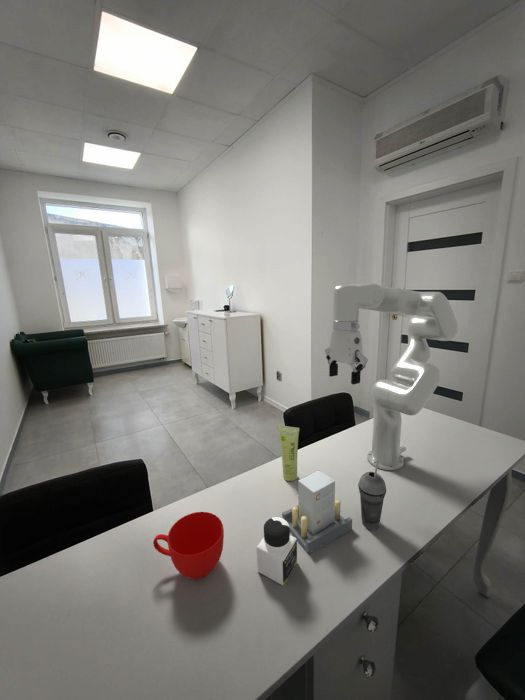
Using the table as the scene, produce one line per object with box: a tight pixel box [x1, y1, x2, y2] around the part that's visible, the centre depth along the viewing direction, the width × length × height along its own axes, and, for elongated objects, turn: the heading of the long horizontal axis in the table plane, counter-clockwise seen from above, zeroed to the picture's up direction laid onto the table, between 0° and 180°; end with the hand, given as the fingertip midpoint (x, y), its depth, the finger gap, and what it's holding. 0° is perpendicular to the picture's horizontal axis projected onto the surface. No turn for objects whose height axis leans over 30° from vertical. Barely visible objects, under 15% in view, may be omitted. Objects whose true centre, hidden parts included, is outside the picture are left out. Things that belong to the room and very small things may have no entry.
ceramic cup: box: [152, 511, 225, 580], centre depth 72 cm, size 13×17×10 cm
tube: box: [278, 424, 300, 482], centre depth 103 cm, size 6×5×20 cm
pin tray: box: [281, 499, 353, 555], centre depth 83 cm, size 15×12×7 cm
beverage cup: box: [357, 461, 387, 531], centre depth 82 cm, size 7×7×20 cm
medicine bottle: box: [256, 516, 298, 586], centre depth 71 cm, size 7×7×12 cm
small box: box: [297, 470, 336, 535], centre depth 83 cm, size 8×6×13 cm
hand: (344, 379), depth 95 cm, fingers open, 9 cm apart
